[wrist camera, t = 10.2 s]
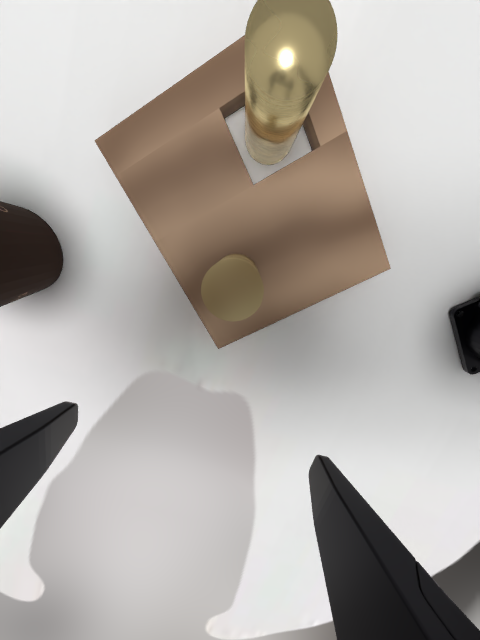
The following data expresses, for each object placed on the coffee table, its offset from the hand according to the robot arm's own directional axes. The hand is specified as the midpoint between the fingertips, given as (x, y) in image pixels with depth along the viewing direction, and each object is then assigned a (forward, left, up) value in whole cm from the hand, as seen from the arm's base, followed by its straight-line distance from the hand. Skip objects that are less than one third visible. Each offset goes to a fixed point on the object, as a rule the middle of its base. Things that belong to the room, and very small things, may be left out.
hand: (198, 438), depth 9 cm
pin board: (+7, -6, -12) cm, 15 cm away
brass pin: (+11, -9, -12) cm, 18 cm away
